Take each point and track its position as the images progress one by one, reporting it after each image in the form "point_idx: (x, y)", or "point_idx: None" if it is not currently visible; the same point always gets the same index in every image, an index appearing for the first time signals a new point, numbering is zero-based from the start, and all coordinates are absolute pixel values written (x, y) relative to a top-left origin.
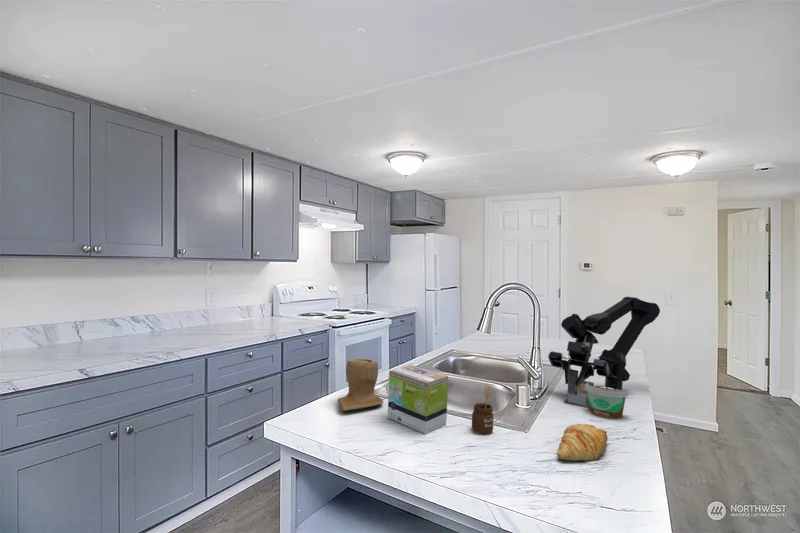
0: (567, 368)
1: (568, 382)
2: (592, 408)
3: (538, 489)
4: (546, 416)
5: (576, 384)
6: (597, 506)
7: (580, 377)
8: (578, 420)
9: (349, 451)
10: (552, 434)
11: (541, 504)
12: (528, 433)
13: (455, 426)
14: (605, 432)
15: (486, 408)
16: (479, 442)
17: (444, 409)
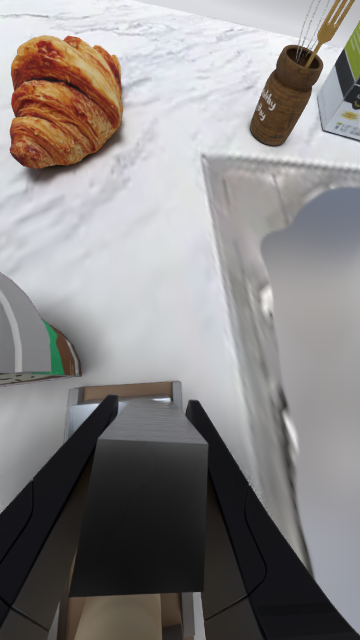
0: (259, 583)
1: (178, 411)
2: (49, 325)
3: (128, 29)
4: (196, 258)
5: (114, 395)
6: (52, 16)
7: (62, 458)
8: (108, 280)
9: (336, 47)
10: (153, 167)
11: (118, 11)
12: (196, 153)
13: (307, 131)
14: (12, 144)
15: (297, 85)
16: (246, 99)
17: (350, 81)
